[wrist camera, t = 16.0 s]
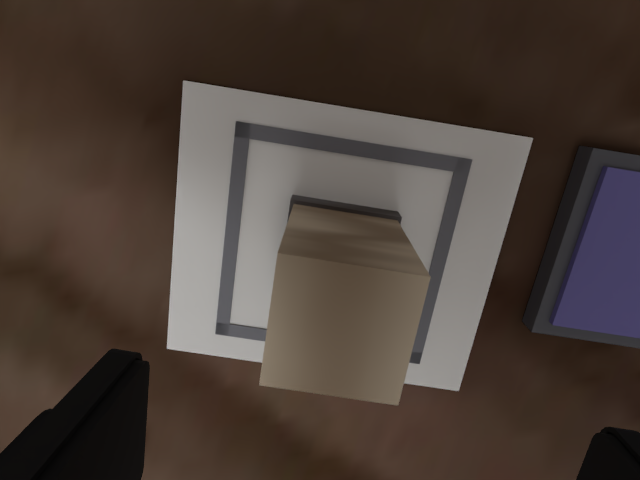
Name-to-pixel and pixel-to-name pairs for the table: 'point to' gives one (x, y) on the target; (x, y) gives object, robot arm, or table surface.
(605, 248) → the ink pad
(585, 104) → the table surface
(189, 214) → the sheet
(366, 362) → the beige cardboard box
